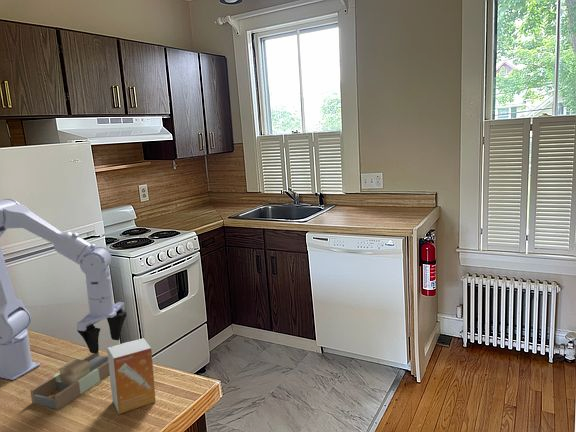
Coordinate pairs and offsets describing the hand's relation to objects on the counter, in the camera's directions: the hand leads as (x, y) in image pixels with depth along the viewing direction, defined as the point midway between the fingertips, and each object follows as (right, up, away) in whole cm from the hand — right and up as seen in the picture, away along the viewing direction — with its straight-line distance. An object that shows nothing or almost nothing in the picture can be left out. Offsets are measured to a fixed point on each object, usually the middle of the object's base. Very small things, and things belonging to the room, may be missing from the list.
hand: (105, 345), depth 114 cm
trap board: (-3, -7, -8) cm, 11 cm away
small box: (+13, -8, -16) cm, 22 cm away
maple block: (-3, -5, -9) cm, 11 cm away
